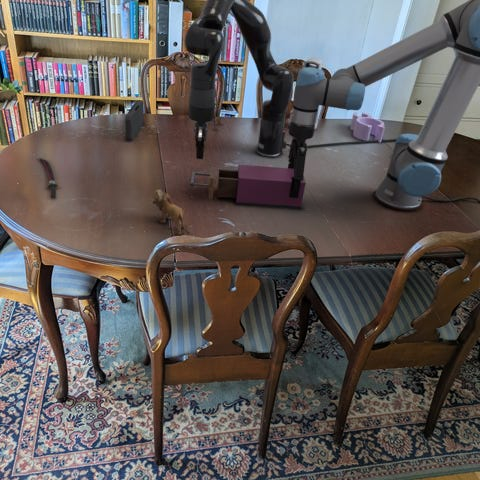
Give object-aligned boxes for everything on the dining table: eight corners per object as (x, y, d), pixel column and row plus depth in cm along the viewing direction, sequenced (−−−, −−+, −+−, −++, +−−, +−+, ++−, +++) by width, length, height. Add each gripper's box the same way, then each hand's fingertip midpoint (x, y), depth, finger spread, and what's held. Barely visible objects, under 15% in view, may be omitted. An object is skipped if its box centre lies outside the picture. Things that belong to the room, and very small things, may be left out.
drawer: (189, 197, 147) (189, 176, 143) (191, 184, 154) (191, 164, 150) (269, 203, 149) (272, 182, 145) (267, 190, 156) (270, 170, 152)
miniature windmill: (215, 130, 202) (220, 57, 186) (196, 127, 203) (199, 55, 187) (220, 124, 209) (225, 53, 193) (202, 121, 210) (205, 51, 194)
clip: (343, 126, 223) (346, 112, 219) (367, 127, 225) (371, 113, 221) (360, 142, 206) (364, 127, 202) (386, 142, 209) (390, 127, 205)
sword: (61, 197, 141) (61, 193, 140) (50, 198, 139) (50, 194, 139) (49, 160, 164) (48, 156, 163) (39, 160, 163) (39, 157, 162)
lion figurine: (148, 218, 136) (147, 190, 131) (161, 212, 139) (161, 185, 134) (183, 238, 128) (184, 210, 123) (197, 232, 132) (198, 204, 127)
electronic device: (317, 128, 217) (329, 60, 200) (313, 133, 211) (326, 64, 194) (291, 123, 219) (301, 56, 203) (287, 127, 213) (297, 59, 197)
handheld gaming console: (137, 122, 202) (137, 99, 196) (144, 122, 202) (143, 99, 196) (124, 141, 182) (123, 116, 177) (131, 141, 182) (131, 116, 177)
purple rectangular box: (236, 204, 148) (238, 178, 143) (235, 189, 156) (238, 164, 151) (301, 209, 149) (305, 183, 144) (297, 194, 158) (301, 169, 153)
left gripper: (190, 94, 140) (189, 149, 150) (187, 108, 129) (186, 166, 139) (215, 96, 141) (212, 150, 150) (214, 110, 130) (211, 167, 139)
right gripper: (286, 109, 148) (277, 173, 160) (295, 135, 129) (283, 205, 141) (309, 111, 149) (298, 175, 161) (321, 137, 130) (308, 207, 142)
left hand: (199, 158), depth 144 cm, fingers closed
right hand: (291, 189), depth 151 cm, fingers closed on purple rectangular box, 10 cm apart
